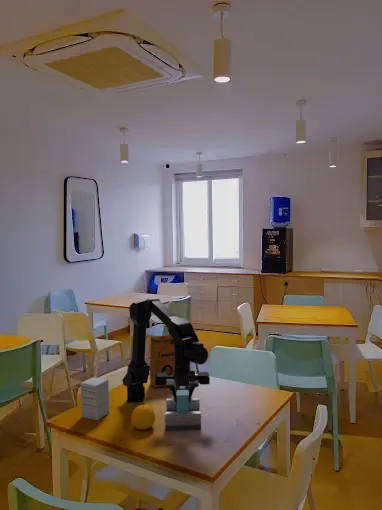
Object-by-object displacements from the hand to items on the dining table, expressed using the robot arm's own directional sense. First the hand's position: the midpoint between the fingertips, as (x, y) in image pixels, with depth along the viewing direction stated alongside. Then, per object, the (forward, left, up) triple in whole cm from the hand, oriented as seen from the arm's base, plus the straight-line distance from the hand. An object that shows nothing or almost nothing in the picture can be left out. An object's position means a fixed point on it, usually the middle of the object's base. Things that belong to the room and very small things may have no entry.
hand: (182, 402), depth 149 cm
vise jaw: (0, +9, -5) cm, 11 cm away
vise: (0, +2, -7) cm, 7 cm away
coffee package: (-8, +39, -7) cm, 41 cm away
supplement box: (-32, +7, -7) cm, 33 cm away
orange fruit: (-13, -4, -7) cm, 16 cm away
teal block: (0, 0, -2) cm, 2 cm away
